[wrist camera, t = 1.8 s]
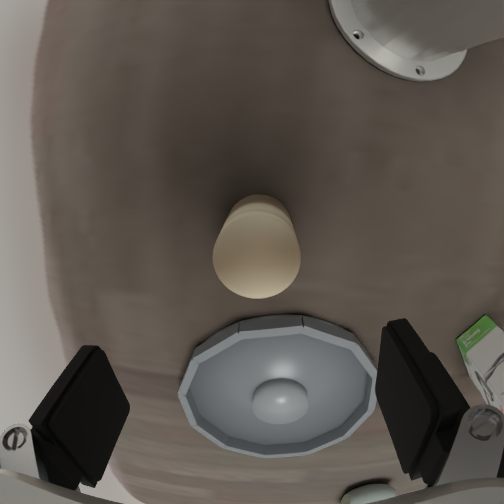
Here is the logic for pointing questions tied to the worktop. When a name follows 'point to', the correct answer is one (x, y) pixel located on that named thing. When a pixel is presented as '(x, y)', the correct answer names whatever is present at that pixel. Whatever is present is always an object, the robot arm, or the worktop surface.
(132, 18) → the worktop surface
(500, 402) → the ink box
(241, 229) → the beige cylinder
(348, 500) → the air freshener
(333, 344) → the ring tray
